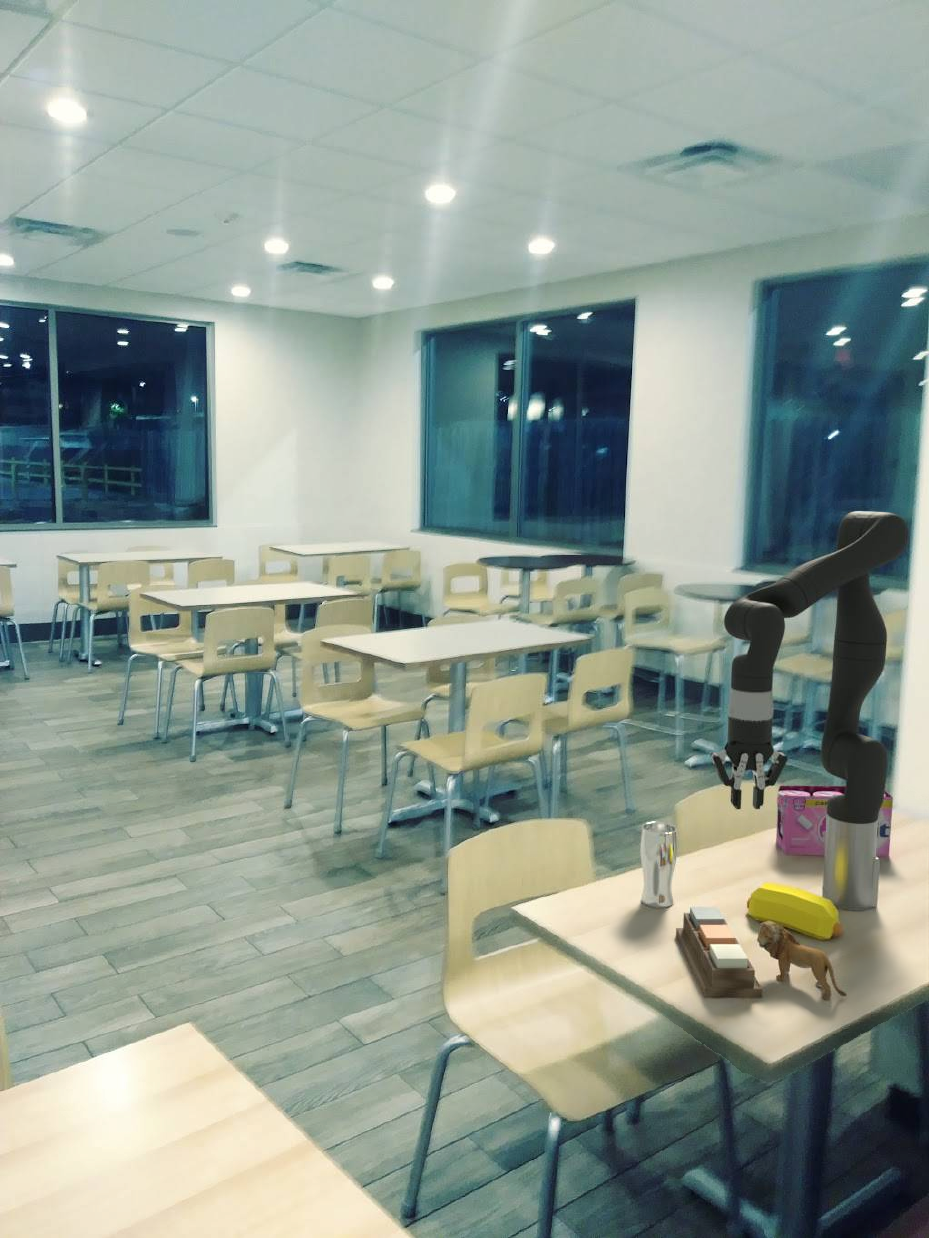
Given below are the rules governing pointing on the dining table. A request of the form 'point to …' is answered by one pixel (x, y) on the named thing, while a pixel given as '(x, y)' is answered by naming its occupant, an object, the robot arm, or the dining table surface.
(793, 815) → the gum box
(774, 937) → the lion figurine
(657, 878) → the beer glass
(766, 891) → the ripe banana
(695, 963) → the button board
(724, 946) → the ivory button
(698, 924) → the slate button
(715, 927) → the terracotta button
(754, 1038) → the dining table surface
